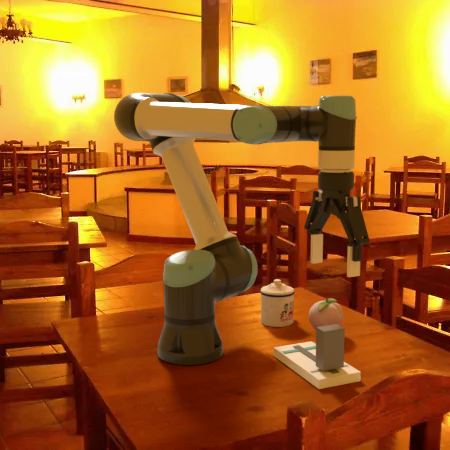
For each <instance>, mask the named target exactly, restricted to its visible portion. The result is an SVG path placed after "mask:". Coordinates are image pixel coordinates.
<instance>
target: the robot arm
mask: <svg viewBox="0 0 450 450" xmlns="http://www.w3.org/2000/svg"><path fill="white" fill-rule="evenodd" d="M356 107H357V105H356V99H355V97H353V96H352V95H342V94H341V95H322V96H321V97H319V100H318V105H313V106H312V105H260V104H259V105H257V104H250V105H249V104H245V105H244V104H224V103H223V104H219V103H194V102H193V103H192V101H190V100H189V99H188V98H187V97H184V96H183V95H180V94H174V93H171V92H168V93H167V92H165V93H153V92H152V93H151V92H148V93H147V92H135V93H130V94H128V95H126V96H124V97H122V99H120V101H118V103H117V104H116V107H115V109H114V113H113V118H114V119H113V121H114V124H115V127H116V129H117V130H118V132H119V133H120V135H122V136H123V137H124V138H126V139H128V140H131V141H134V142H149V145H150V148H151V151H152V154H154V155H156V156H159V157H161V159H162V161H163V164H164V167H165V169H166V172H167V174H168V177H169V179H170V182H171V184H172V187H173V189H174V192H175V195H176V197H177V200H178V202H179V205H180V207H181V210H182V212H183V214H184V215H183V216H184V217H185V220H186V222H187V225H188V228H189V230H190V233H191V235H192V237H193V240H194V243H195V247H194V249H190V250H182V251H179V252H176V253H172V255H170V256H168V257H167V258H166V259H165V262H164V265H163V274H162V280H163V305H164V306H163V307H164V308H163V309H164V312H163V313H164V323H163V325H162V328H161V329H162V330H161V333H160V336H159V339H158V342H157V355H158V358H159V359H160V360H162V361H163V362H166V363H169V364H173V365H179V366H197V365H204V364H208V363H212V362H214V361H216V360H218V359H220V358H221V357H222V356H223V353H224V345H223V340H222V337H221V333H220V331H219V329H218V325H217V322H216V303H218V302H221V301H223V300H226V299H229V298H232V297H236V296H239V295H241V294H243V293H244V292H246V291H247V290H249V289H250V288H251V287H252V286H253V285H254V284H255V281H256V278H257V275H258V263H257V262H258V261H257V258H256V256H255V254H254V252H253V251H252V250H251V249H249V248H247V246H245V245H241V244H240V241H239V238H238V236H237V235H236V234H234V233H232V232H230V231H229V230H228V228H227V225H226V223H225V220H224V218H223V216H222V213H221V210H220V208H219V206H218V203H217V200H216V197H215V195H214V193H213V191H212V188H211V185H210V183H209V180H208V178H207V175H206V173H205V171H204V168H203V165H202V163H201V161H200V158H199V155H198V154H197V150H196V148H195V146H194V145H195V144H194V143H195V141H196V140H197V139H202V140H213V141H214V140H215V141H216V140H217V141H227V142H228V141H229V142H241V143H244V144H248V145H264V144H272V143H290V142H316V143H317V142H318V152H317V153H318V154H317V156H318V158H317V168H318V169H319V170H320V171H319V172H318V173H317V188H318V189H319V190H318V189H317V190H313V191H312V199H311V203H310V207H309V209H308V213H307V217H306V220H305V223H304V230H306V231H308V233H309V234H310V238H309V239H310V240H309V242H310V243H309V244H310V264H313V265H314V264H320V263H323V256H324V255H323V253H324V252H323V251H324V248H323V247H324V234H323V233H324V231H323V229H324V227H325V225H326V223H328V222H327V221H328V220H329V218H330V217H331V215H333V216H335V217H336V218H337V219H339V221H340V223H341V225H342V228H343V230H344V231H345V235H346V237H347V239H348V241H349V243H348V244H347V253H346V254H347V255H346V256H347V260H346V264H347V265H346V277H347V278H352V277H353V278H354V277H360V276H361V261H362V251H363V250H362V249H363V246H364V245H366V244H369V243H370V237H369V233H368V229H367V226H366V222H365V218H364V214H363V211H362V207H361V197H360V196H359V195H358V196H357V195H356V196H355V195H354V196H351V194H350V192H351V190H354V188H355V173H354V171H353V170H354V168H355V150H356V144H355V143H356V122H357V121H356V120H357V111H356V110H357V109H356Z"/></svg>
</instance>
